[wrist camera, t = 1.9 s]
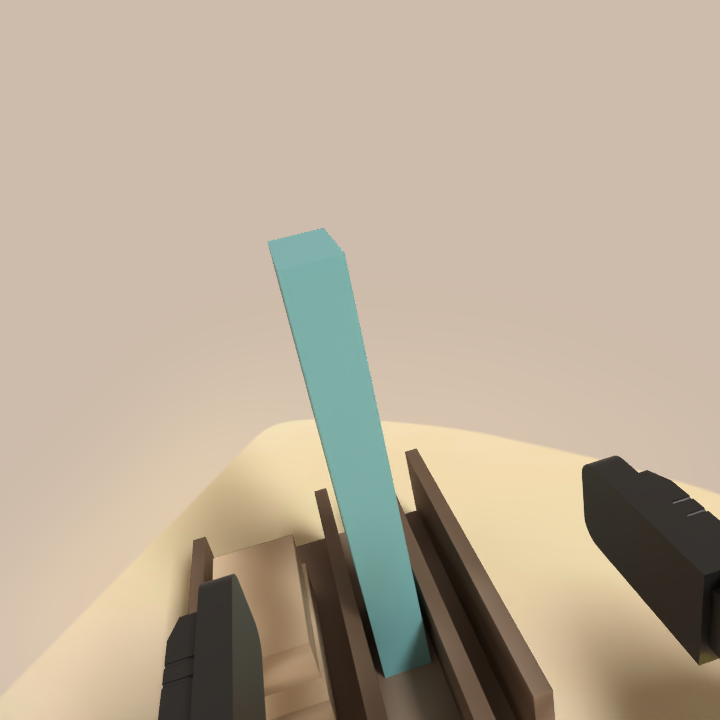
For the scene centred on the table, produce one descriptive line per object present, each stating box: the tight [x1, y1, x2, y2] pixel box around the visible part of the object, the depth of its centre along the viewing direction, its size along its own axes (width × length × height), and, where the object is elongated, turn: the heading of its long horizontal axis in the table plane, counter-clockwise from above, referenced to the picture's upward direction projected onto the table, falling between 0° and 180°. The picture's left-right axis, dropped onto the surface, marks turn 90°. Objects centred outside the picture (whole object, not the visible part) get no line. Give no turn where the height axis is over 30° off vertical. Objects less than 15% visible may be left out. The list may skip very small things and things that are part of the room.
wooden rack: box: [188, 449, 555, 720], centre depth 31 cm, size 16×18×6 cm
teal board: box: [268, 228, 431, 678], centre depth 28 cm, size 2×5×22 cm, turn 12°
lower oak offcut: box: [265, 563, 338, 720], centre depth 31 cm, size 5×9×2 cm, turn 12°
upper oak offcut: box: [213, 535, 321, 697], centre depth 31 cm, size 5×8×2 cm, turn 12°
